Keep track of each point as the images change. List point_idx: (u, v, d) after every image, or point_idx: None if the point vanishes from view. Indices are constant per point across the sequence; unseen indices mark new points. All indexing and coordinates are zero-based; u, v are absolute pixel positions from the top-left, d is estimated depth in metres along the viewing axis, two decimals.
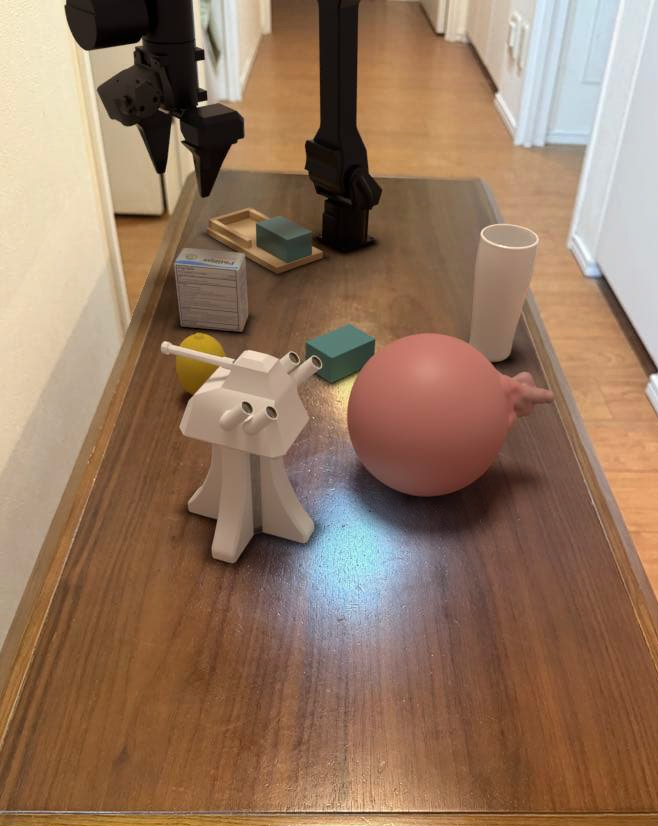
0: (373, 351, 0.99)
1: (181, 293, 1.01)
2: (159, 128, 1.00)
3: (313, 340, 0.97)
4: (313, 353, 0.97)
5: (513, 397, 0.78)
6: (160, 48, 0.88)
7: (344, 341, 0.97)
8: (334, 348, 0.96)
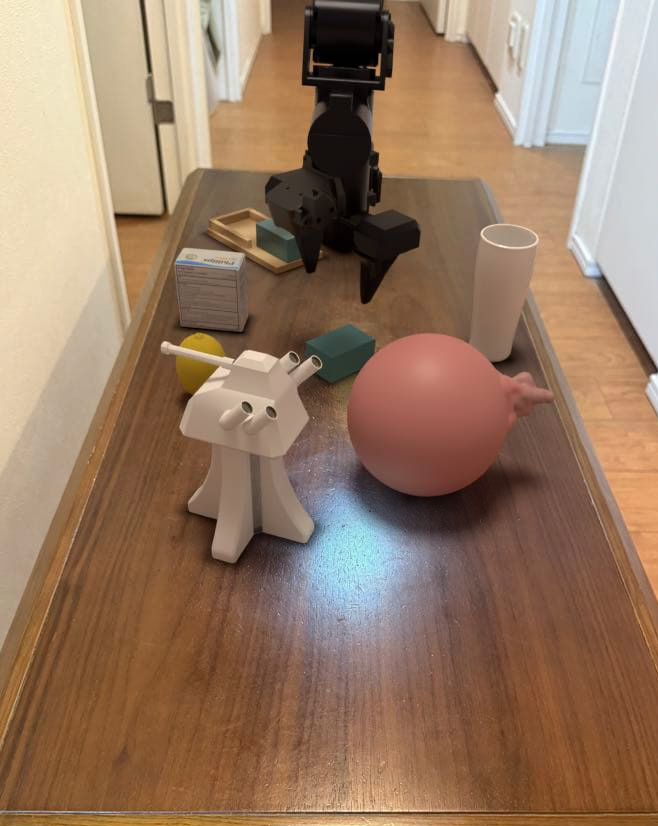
0: (373, 351, 0.99)
1: (181, 293, 1.01)
2: (313, 227, 0.93)
3: (313, 340, 0.97)
4: (313, 353, 0.97)
5: (513, 397, 0.78)
6: None
7: (344, 341, 0.97)
8: (334, 348, 0.96)
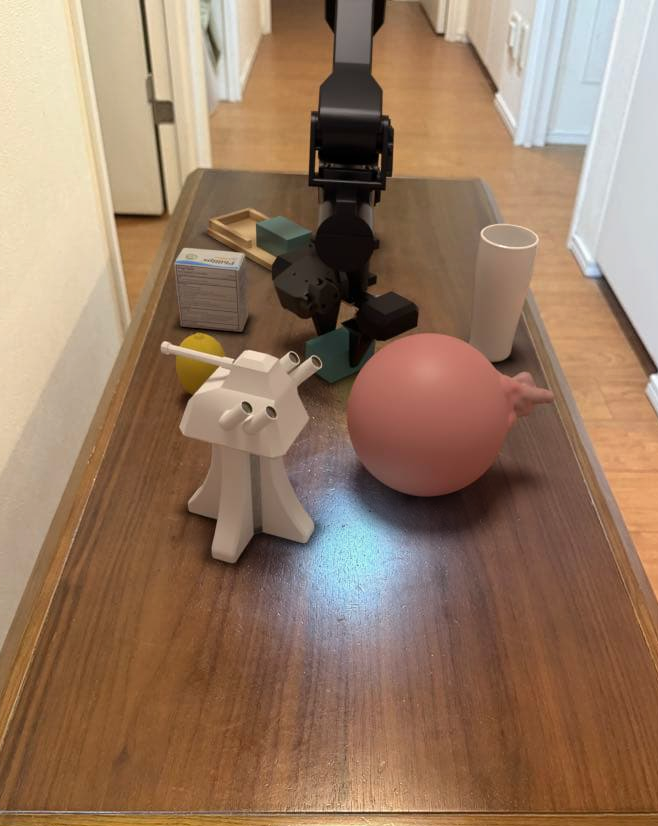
0: (373, 351, 0.99)
1: (181, 293, 1.01)
2: (329, 308, 0.97)
3: (313, 340, 0.97)
4: (313, 353, 0.97)
5: (513, 397, 0.78)
6: None
7: (344, 341, 0.97)
8: (334, 348, 0.96)
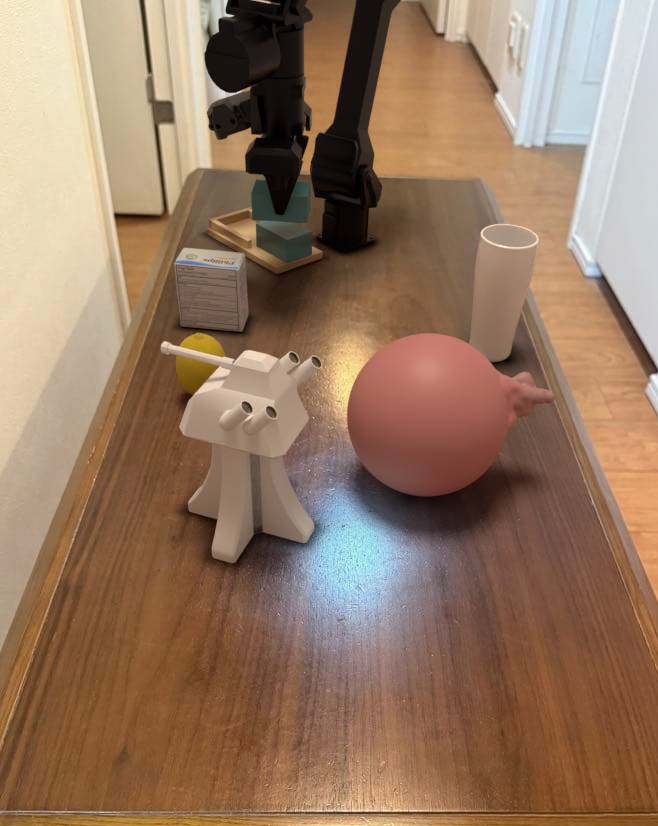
0: (305, 209, 1.04)
1: (181, 293, 1.01)
2: None
3: (262, 180, 1.06)
4: None
5: (513, 397, 0.78)
6: None
7: None
8: (264, 189, 1.04)
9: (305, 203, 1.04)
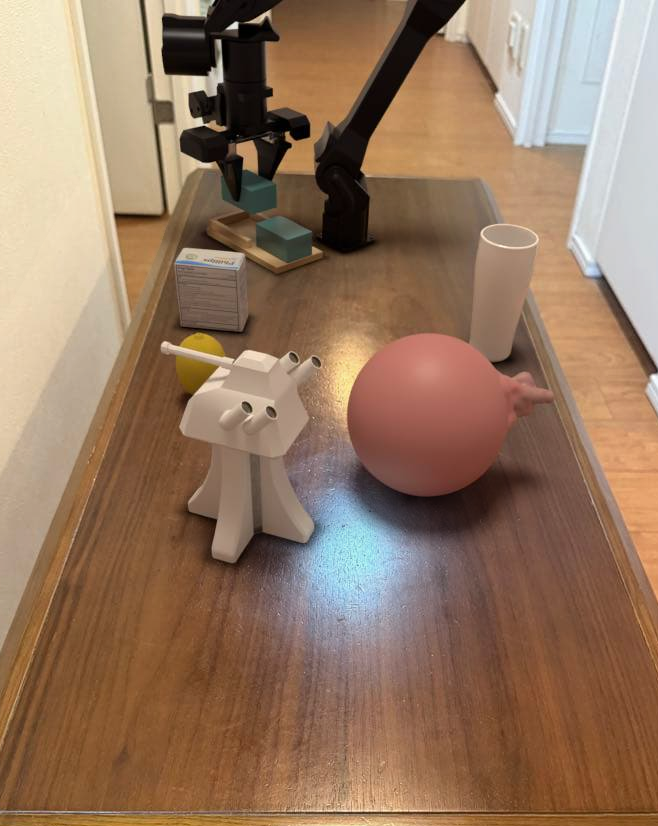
0: (250, 202, 1.17)
1: (181, 293, 1.01)
2: (266, 158, 1.18)
3: (248, 171, 1.21)
4: None
5: (513, 397, 0.78)
6: None
7: (246, 180, 1.18)
8: None
9: (250, 196, 1.16)
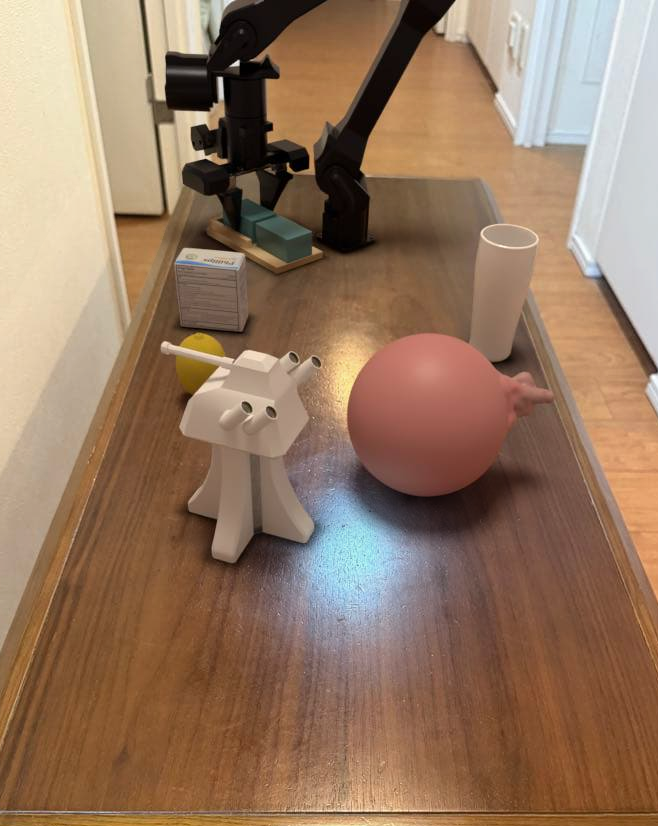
0: (250, 231, 1.20)
1: (181, 293, 1.01)
2: (268, 188, 1.21)
3: (248, 200, 1.24)
4: None
5: (513, 397, 0.78)
6: None
7: (247, 210, 1.21)
8: None
9: (250, 226, 1.19)
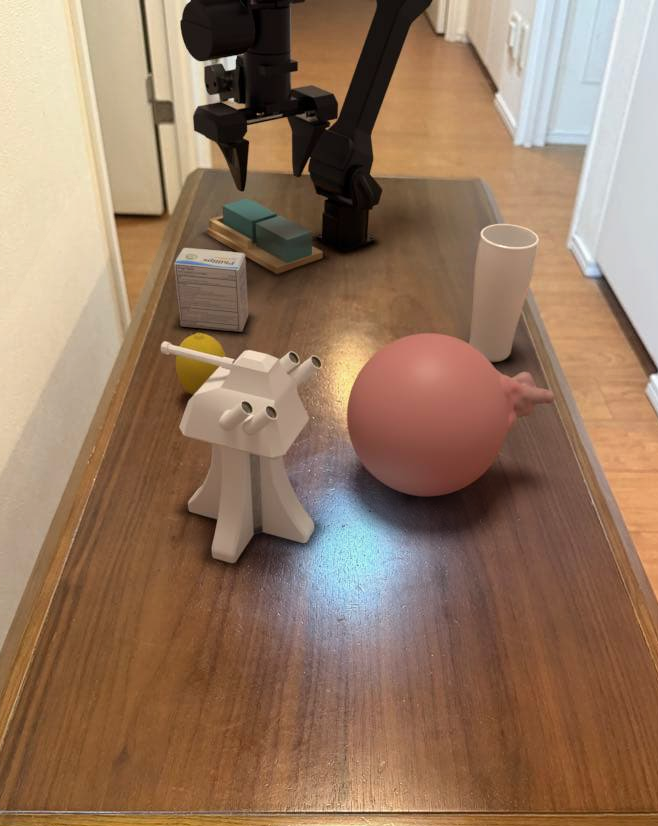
0: (250, 231, 1.20)
1: (181, 293, 1.01)
2: (301, 137, 1.08)
3: (248, 200, 1.24)
4: None
5: (513, 397, 0.78)
6: None
7: (247, 210, 1.21)
8: (235, 206, 1.22)
9: (250, 226, 1.19)
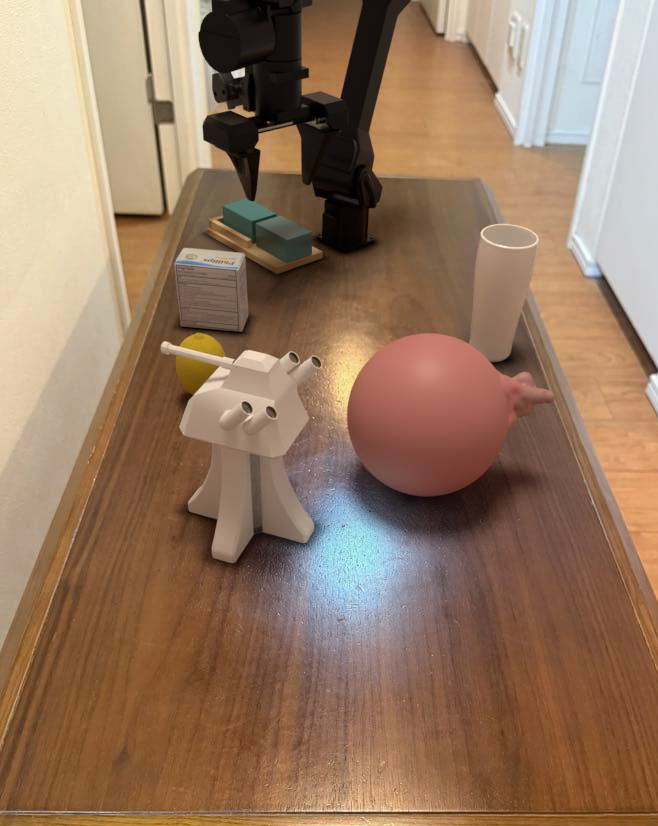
0: (250, 231, 1.20)
1: (181, 293, 1.01)
2: (311, 144, 1.06)
3: (248, 200, 1.24)
4: None
5: (513, 397, 0.78)
6: None
7: (247, 210, 1.21)
8: (235, 206, 1.22)
9: (250, 226, 1.19)
